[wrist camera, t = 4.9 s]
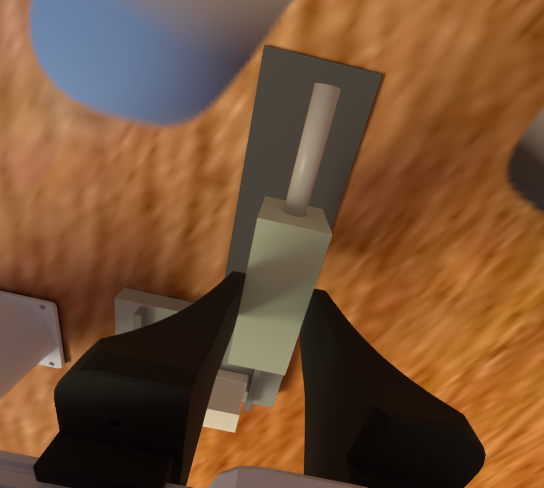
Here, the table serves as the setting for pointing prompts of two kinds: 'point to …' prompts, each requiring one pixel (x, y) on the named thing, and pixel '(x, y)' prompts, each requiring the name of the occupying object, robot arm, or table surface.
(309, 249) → the driver
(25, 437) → the table surface
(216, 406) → the tab
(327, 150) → the tool mat
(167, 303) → the switch panel
